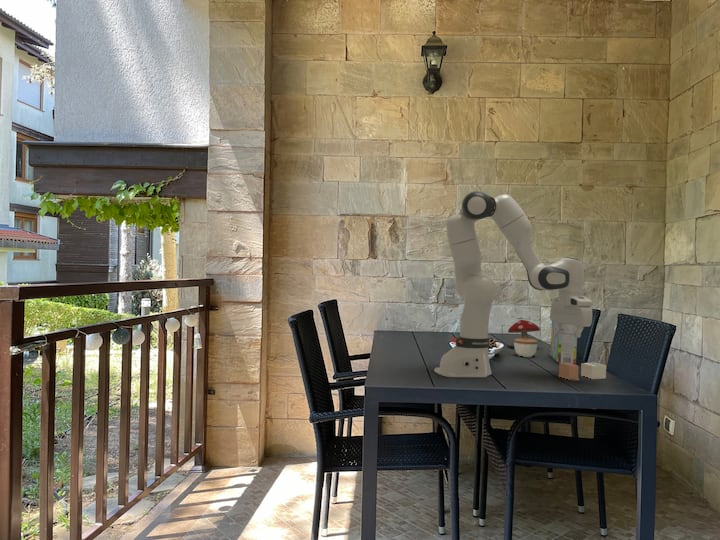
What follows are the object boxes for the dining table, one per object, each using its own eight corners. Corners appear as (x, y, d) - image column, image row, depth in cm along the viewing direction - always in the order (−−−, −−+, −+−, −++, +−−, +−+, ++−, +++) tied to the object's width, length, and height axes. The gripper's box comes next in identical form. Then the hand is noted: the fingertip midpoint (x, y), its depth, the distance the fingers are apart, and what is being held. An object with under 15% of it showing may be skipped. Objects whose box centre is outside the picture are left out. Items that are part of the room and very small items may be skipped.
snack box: (578, 365, 227) (579, 306, 227) (557, 364, 229) (558, 306, 228) (568, 356, 248) (570, 303, 248) (549, 355, 250) (550, 302, 250)
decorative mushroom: (505, 349, 266) (506, 320, 266) (509, 345, 281) (510, 317, 281) (538, 351, 260) (539, 322, 260) (540, 347, 275) (541, 319, 274)
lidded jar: (539, 356, 248) (540, 336, 248) (533, 359, 239) (534, 339, 239) (517, 353, 254) (517, 334, 254) (510, 356, 245) (511, 336, 245)
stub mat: (569, 380, 195) (569, 379, 195) (557, 376, 202) (557, 375, 202) (579, 380, 196) (579, 379, 196) (567, 376, 203) (567, 375, 203)
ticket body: (591, 379, 199) (592, 365, 198) (581, 375, 204) (581, 362, 204) (605, 378, 200) (606, 365, 200) (594, 375, 206) (595, 362, 206)
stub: (569, 379, 196) (569, 366, 196) (559, 375, 201) (559, 363, 201) (578, 378, 197) (578, 365, 197) (567, 375, 203) (568, 362, 202)
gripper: (546, 297, 208) (545, 331, 208) (581, 301, 188) (580, 339, 188) (560, 297, 210) (558, 331, 210) (596, 302, 190) (594, 339, 190)
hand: (569, 335), depth 199 cm, fingers open, 8 cm apart
